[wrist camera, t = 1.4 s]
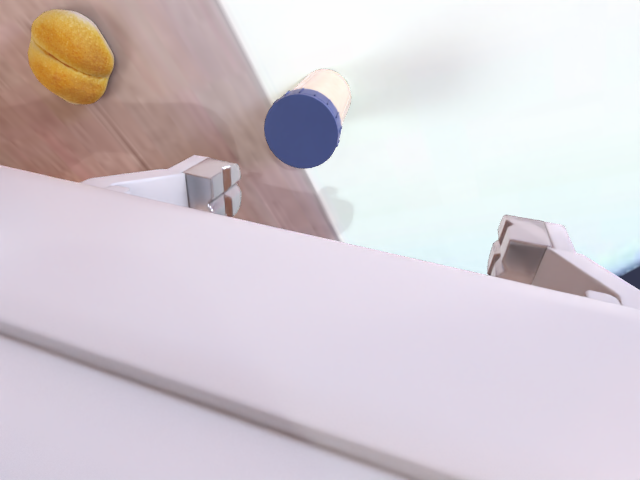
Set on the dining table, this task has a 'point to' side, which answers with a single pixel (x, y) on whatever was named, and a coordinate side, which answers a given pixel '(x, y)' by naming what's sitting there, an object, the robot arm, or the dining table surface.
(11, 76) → the dining table surface
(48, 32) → the bread roll
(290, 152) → the lid
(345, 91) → the beige cylinder
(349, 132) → the dining table surface
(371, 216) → the dining table surface
